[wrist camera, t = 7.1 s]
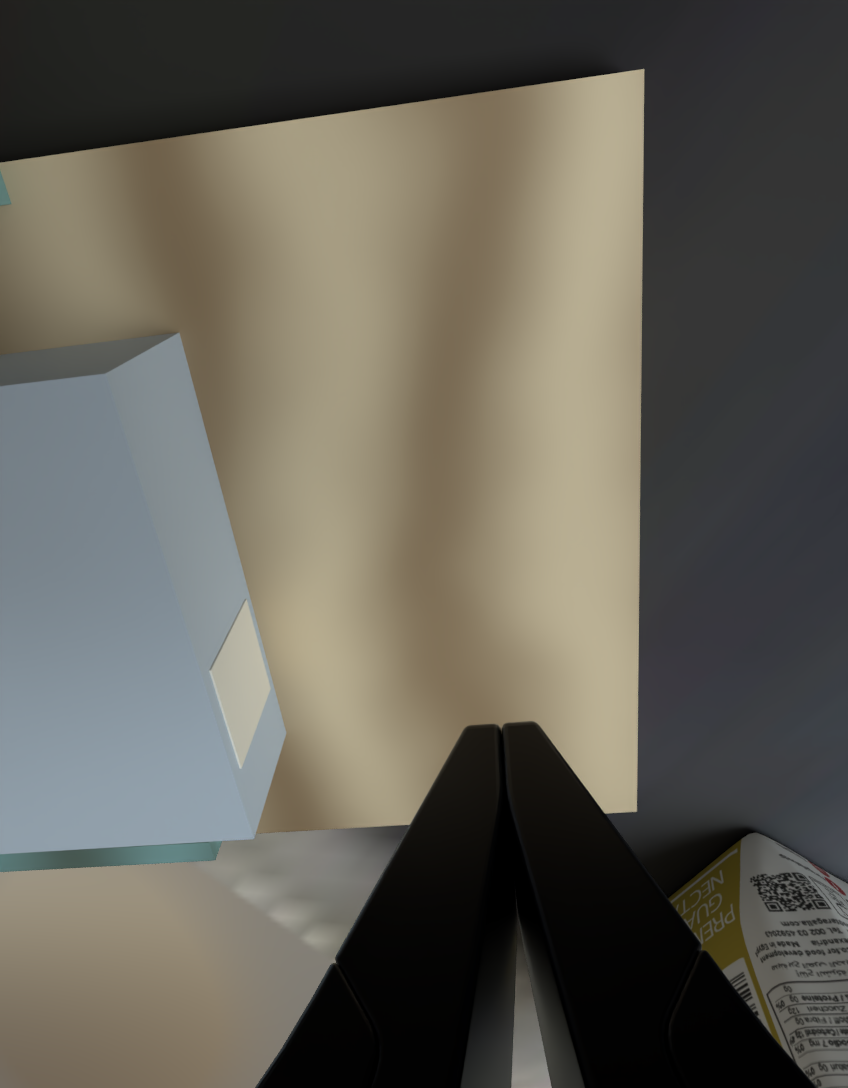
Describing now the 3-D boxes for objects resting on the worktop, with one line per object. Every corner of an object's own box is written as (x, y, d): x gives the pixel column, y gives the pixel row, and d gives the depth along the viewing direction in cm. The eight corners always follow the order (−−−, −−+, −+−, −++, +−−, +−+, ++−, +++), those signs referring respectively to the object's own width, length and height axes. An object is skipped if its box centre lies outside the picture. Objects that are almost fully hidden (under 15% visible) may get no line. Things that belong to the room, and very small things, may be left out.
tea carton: (181, 332, 17) (108, 373, 13) (287, 732, 22) (256, 839, 19) (-178, 377, 18) (-337, 426, 14) (6, 753, 23) (-76, 858, 20)
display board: (631, 76, 15) (678, 49, 12) (628, 783, 24) (656, 879, 21) (-311, 212, 17) (-490, 221, 14) (3, 821, 26) (-62, 914, 23)
